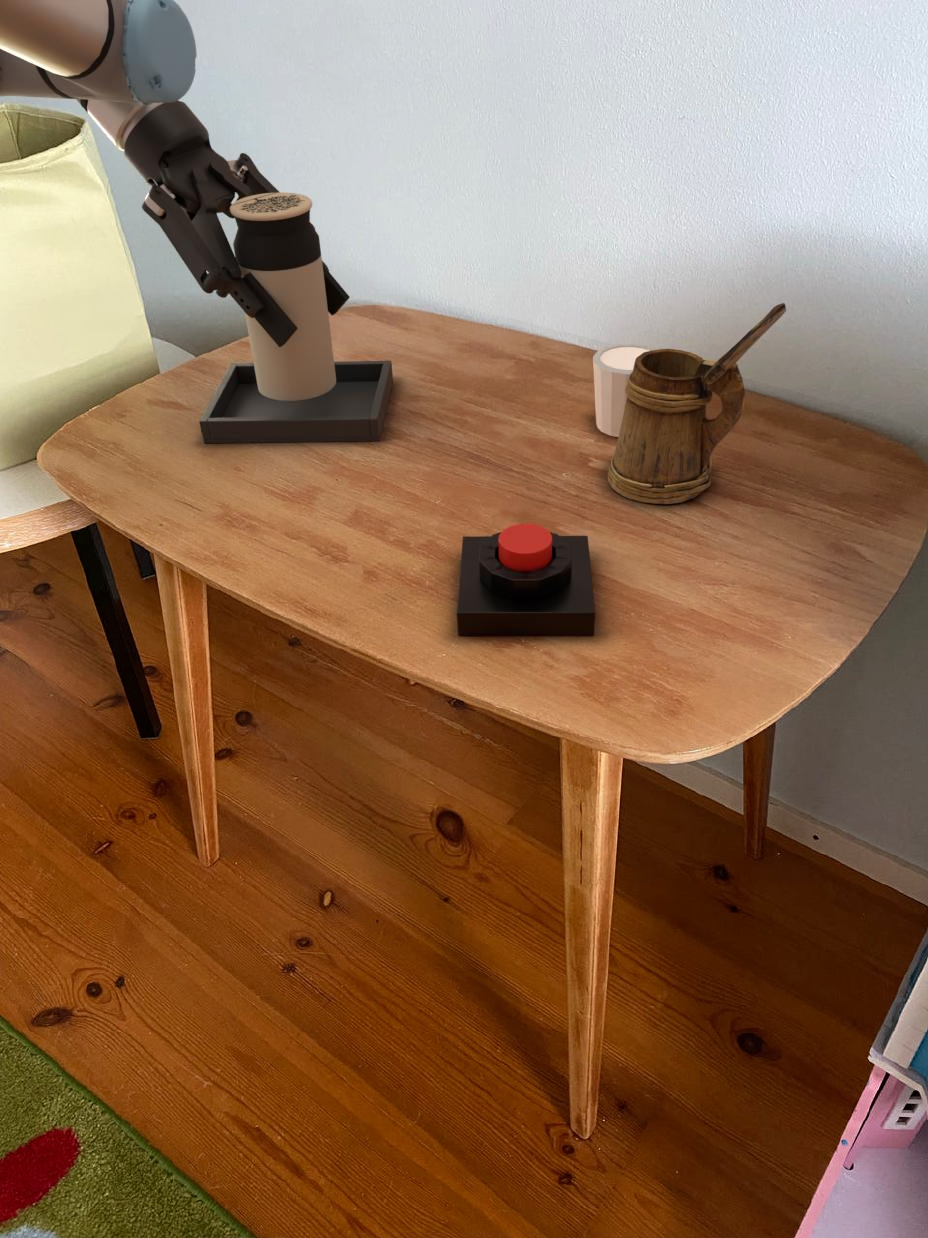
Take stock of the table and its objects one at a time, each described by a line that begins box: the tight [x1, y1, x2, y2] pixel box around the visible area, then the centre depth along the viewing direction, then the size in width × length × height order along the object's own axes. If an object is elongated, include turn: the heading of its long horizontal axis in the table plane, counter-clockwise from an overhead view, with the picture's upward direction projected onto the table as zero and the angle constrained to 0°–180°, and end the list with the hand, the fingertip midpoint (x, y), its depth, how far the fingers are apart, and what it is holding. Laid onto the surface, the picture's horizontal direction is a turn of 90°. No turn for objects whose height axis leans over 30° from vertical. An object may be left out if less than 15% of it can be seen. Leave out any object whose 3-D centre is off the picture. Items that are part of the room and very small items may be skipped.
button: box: [499, 523, 552, 571], centre depth 74 cm, size 4×4×2 cm
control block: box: [456, 531, 596, 637], centre depth 75 cm, size 10×10×4 cm
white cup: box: [592, 343, 657, 438], centre depth 96 cm, size 7×7×7 cm
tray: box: [198, 360, 394, 444], centre depth 102 cm, size 18×14×2 cm
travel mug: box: [230, 191, 336, 402], centre depth 95 cm, size 8×8×18 cm
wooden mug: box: [607, 302, 787, 505], centre depth 82 cm, size 9×14×18 cm, turn 54°
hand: (315, 321), depth 95 cm, fingers closed on travel mug, 8 cm apart
